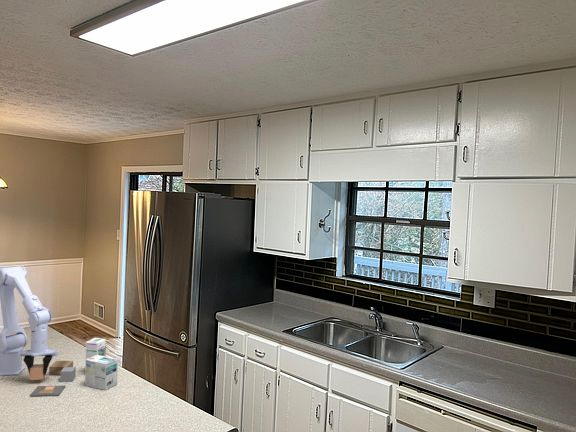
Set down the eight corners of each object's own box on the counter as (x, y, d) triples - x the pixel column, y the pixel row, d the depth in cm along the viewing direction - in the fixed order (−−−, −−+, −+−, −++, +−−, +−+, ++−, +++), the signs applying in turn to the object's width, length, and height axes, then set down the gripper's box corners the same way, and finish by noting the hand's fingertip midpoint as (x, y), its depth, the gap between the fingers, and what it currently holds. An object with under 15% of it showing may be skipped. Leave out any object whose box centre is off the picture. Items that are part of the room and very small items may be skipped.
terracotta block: (29, 379, 175) (30, 368, 174) (33, 375, 179) (34, 364, 179) (41, 379, 175) (42, 368, 175) (45, 375, 180) (46, 364, 180)
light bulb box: (117, 384, 178) (118, 358, 178) (105, 390, 172) (106, 363, 172) (96, 379, 182) (97, 353, 182) (83, 385, 176) (84, 359, 175)
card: (29, 396, 164) (29, 394, 164) (37, 387, 172) (37, 385, 172) (58, 395, 166) (58, 394, 166) (65, 386, 174) (65, 385, 174)
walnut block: (48, 376, 183) (49, 366, 183) (55, 369, 190) (56, 360, 190) (66, 376, 184) (66, 366, 184) (72, 369, 191) (73, 360, 191)
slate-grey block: (60, 382, 178) (60, 371, 177) (63, 378, 182) (64, 367, 182) (72, 382, 178) (72, 371, 178) (75, 377, 183) (75, 367, 183)
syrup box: (97, 377, 184) (98, 342, 184) (84, 375, 186) (85, 341, 185) (105, 371, 190) (106, 338, 190) (93, 370, 191) (94, 337, 191)
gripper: (15, 343, 171) (13, 378, 172) (55, 343, 174) (54, 377, 175) (22, 337, 178) (21, 371, 179) (61, 337, 181) (59, 370, 182)
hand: (38, 373), depth 177 cm, fingers closed on terracotta block, 4 cm apart
